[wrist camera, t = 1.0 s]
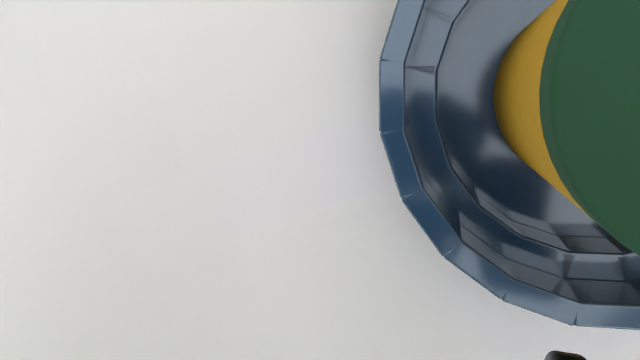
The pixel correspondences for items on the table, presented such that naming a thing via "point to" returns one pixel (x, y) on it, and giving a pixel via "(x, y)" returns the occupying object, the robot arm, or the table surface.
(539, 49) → the green-capped yellow cylinder
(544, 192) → the bowl
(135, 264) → the table surface
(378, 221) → the table surface
